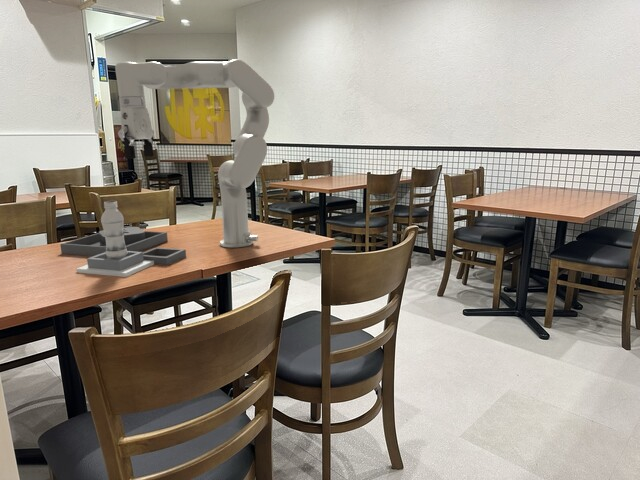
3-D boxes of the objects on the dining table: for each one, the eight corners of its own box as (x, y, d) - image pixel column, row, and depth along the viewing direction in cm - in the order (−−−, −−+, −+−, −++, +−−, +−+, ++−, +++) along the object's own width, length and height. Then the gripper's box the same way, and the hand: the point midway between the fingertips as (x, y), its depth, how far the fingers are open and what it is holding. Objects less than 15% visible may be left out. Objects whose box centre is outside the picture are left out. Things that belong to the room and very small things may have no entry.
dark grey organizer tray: (167, 240, 176) (166, 232, 175) (122, 258, 152) (121, 248, 151) (112, 237, 183) (111, 229, 182) (61, 253, 159) (60, 244, 158)
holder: (186, 256, 154) (185, 249, 153) (167, 265, 143) (166, 257, 143) (156, 254, 157) (155, 247, 156) (136, 262, 147) (135, 255, 146)
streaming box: (147, 245, 167) (146, 232, 166) (106, 251, 159) (104, 237, 158) (138, 238, 179) (137, 226, 177) (99, 243, 171) (97, 230, 169)
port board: (155, 263, 145) (153, 251, 144) (126, 277, 132) (124, 263, 131) (109, 260, 150) (107, 248, 149) (76, 272, 137) (74, 259, 136)
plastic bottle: (133, 262, 143) (126, 200, 138) (118, 267, 137) (110, 203, 132) (117, 260, 145) (110, 199, 141) (101, 266, 139) (93, 202, 134)
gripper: (125, 101, 134) (133, 159, 138) (158, 103, 150) (165, 155, 154) (104, 103, 136) (113, 159, 140) (139, 105, 152) (146, 155, 156)
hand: (140, 157), depth 147 cm, fingers open, 9 cm apart
